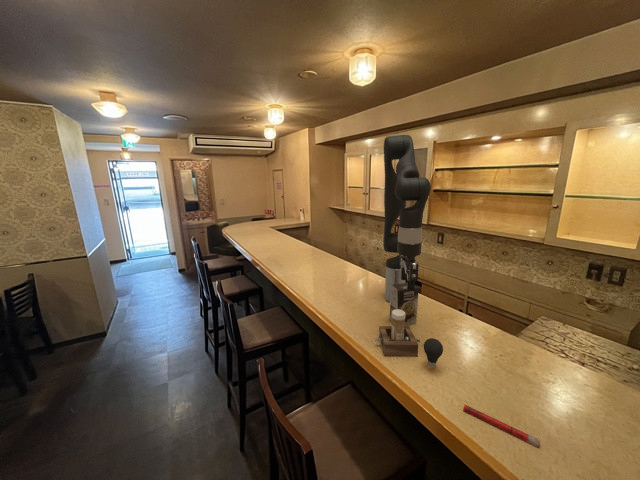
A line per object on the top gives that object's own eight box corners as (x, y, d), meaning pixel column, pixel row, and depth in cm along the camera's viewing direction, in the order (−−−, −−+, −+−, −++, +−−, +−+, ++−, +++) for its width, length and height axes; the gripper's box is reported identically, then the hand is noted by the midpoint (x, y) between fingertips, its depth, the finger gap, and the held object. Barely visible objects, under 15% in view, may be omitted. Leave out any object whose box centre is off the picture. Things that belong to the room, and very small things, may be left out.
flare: (538, 449, 57) (540, 443, 56) (462, 412, 66) (463, 407, 66) (538, 443, 58) (539, 437, 58) (464, 408, 67) (465, 402, 67)
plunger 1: (374, 340, 93) (375, 334, 93) (389, 340, 93) (390, 334, 93) (375, 344, 91) (376, 338, 91) (391, 344, 91) (391, 339, 90)
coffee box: (397, 327, 103) (399, 290, 99) (389, 319, 109) (390, 284, 105) (417, 323, 105) (419, 287, 101) (407, 315, 111) (409, 281, 108)
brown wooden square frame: (379, 336, 98) (379, 325, 97) (408, 336, 97) (409, 326, 96) (384, 356, 87) (384, 344, 86) (417, 356, 86) (418, 344, 85)
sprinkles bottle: (402, 351, 89) (403, 316, 86) (389, 347, 91) (390, 313, 88) (404, 343, 93) (406, 310, 90) (392, 340, 95) (393, 307, 92)
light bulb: (425, 358, 85) (427, 332, 83) (443, 366, 82) (446, 338, 79) (419, 368, 81) (421, 340, 79) (438, 376, 78) (441, 348, 75)
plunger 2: (403, 340, 93) (403, 335, 92) (418, 340, 92) (418, 335, 92) (404, 345, 90) (405, 339, 90) (420, 345, 90) (420, 339, 90)
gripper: (393, 234, 92) (392, 276, 96) (403, 246, 78) (401, 294, 82) (415, 234, 91) (412, 276, 96) (428, 245, 78) (425, 294, 82)
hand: (407, 285), depth 89 cm, fingers open, 8 cm apart
